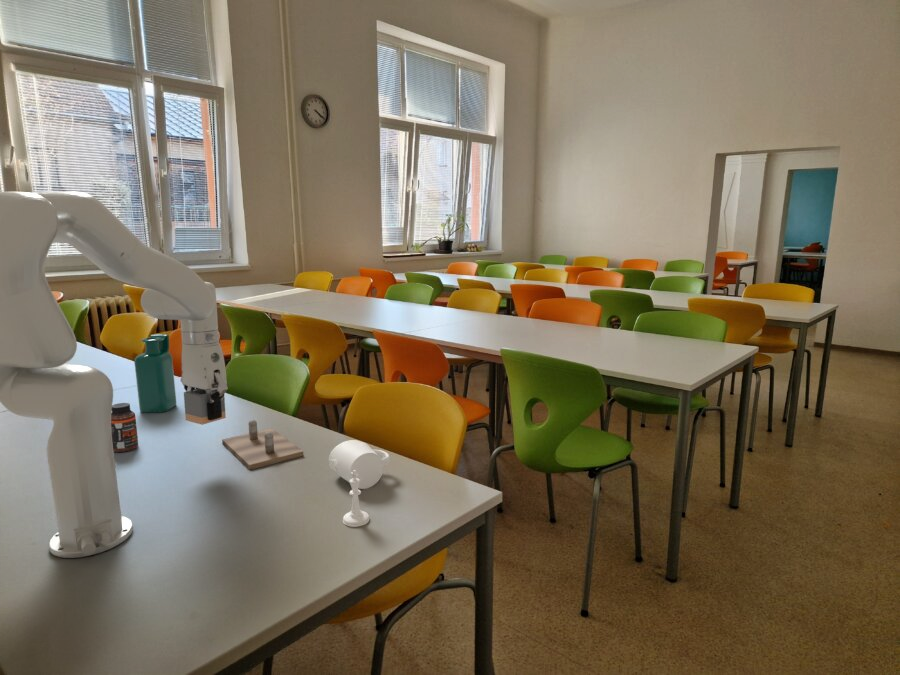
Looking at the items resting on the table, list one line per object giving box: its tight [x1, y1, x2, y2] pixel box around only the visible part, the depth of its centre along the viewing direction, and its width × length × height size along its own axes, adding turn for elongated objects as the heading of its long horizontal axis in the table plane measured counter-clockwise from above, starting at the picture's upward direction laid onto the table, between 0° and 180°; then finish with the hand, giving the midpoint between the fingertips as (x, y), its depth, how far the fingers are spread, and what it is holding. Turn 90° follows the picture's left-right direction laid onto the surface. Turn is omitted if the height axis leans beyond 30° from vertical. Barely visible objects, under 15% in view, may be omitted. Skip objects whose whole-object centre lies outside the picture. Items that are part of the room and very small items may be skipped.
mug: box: [328, 439, 391, 490], centre depth 125 cm, size 12×9×8 cm
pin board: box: [221, 419, 304, 471], centre depth 141 cm, size 20×13×6 cm, turn 38°
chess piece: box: [342, 470, 370, 528], centre depth 107 cm, size 5×5×10 cm
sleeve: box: [183, 388, 227, 426], centre depth 129 cm, size 6×6×6 cm
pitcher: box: [134, 333, 177, 413], centre depth 172 cm, size 10×8×22 cm
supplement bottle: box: [111, 402, 139, 453], centre depth 142 cm, size 6×6×11 cm
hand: (205, 415), depth 130 cm, fingers closed on sleeve, 6 cm apart
